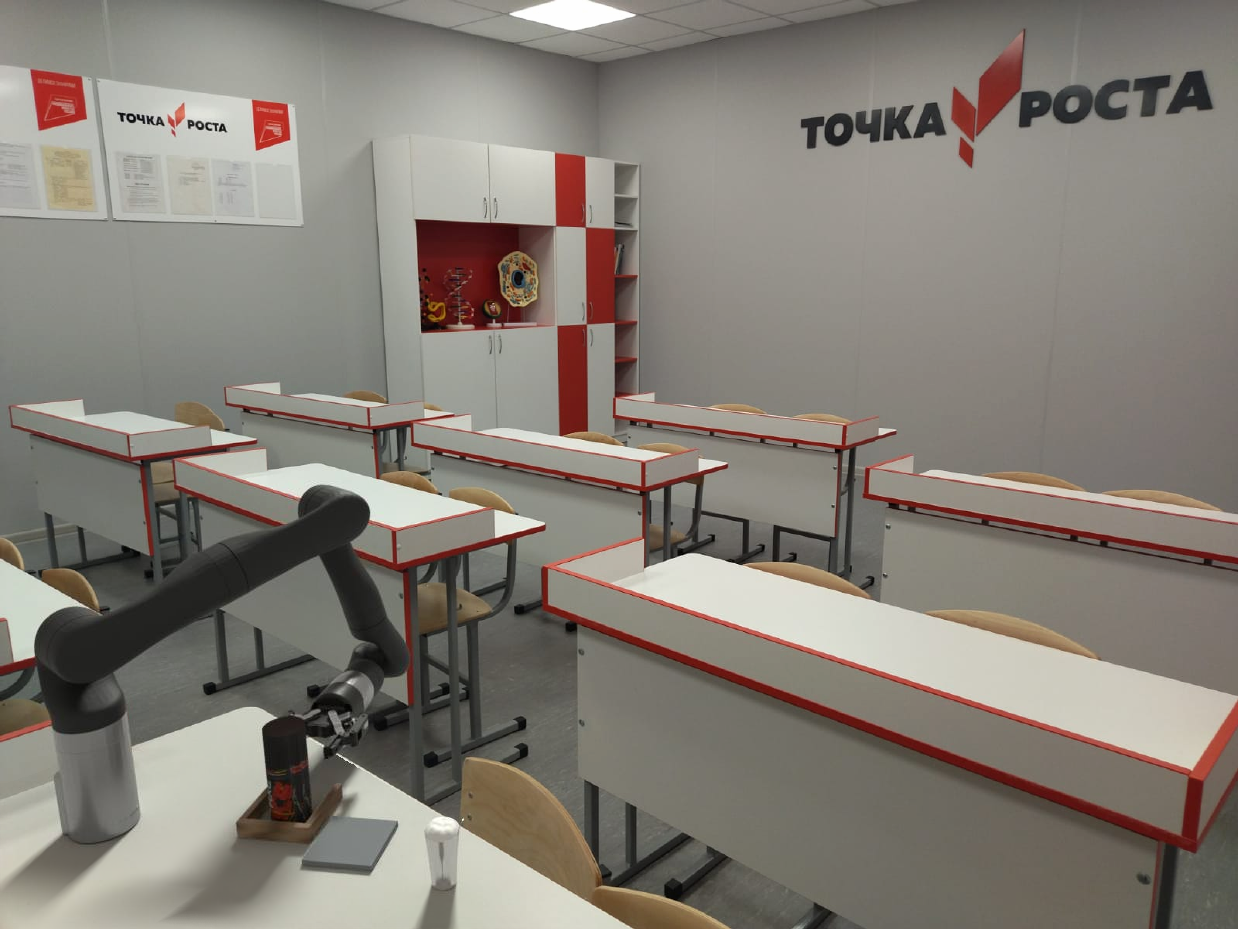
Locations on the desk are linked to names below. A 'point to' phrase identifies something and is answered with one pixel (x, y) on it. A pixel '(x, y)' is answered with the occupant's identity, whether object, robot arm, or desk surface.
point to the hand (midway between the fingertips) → (299, 752)
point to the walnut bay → (286, 831)
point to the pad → (350, 843)
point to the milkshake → (442, 851)
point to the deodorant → (287, 769)
